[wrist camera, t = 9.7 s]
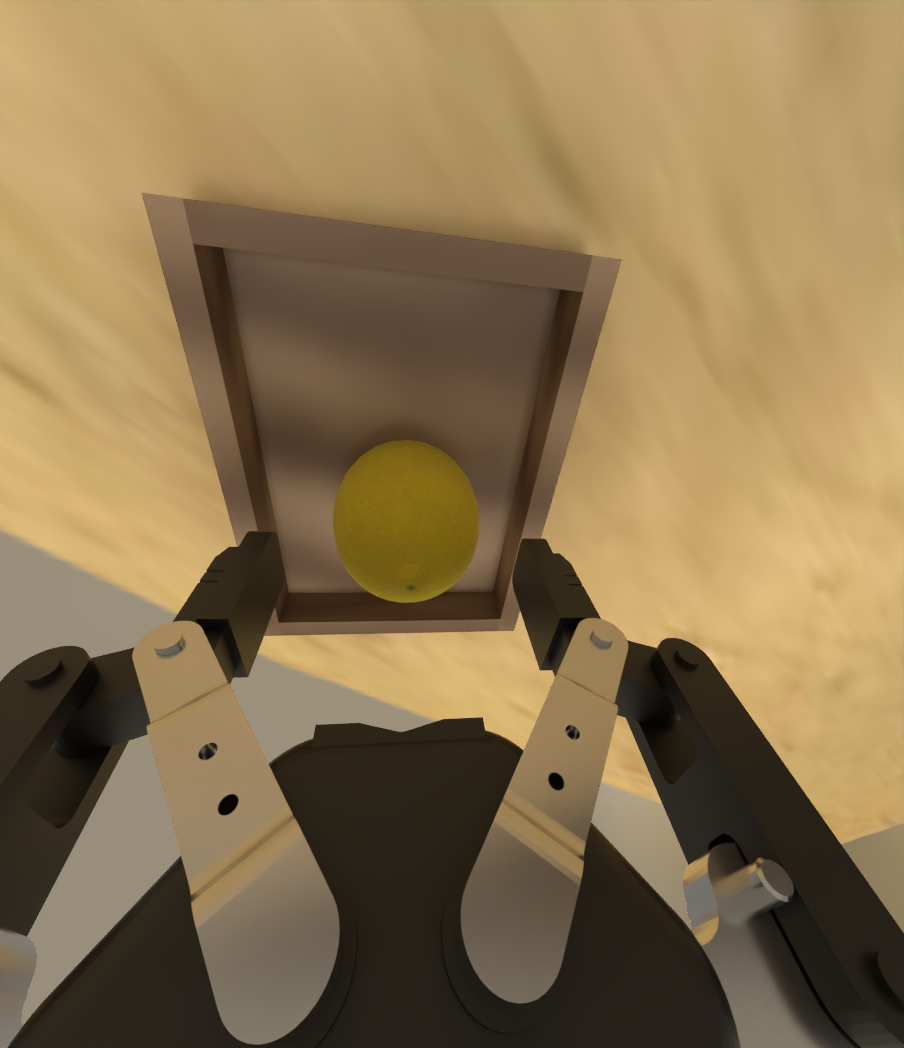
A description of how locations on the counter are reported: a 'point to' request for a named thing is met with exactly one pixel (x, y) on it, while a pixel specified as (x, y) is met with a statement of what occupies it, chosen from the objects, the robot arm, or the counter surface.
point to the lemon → (406, 521)
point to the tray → (378, 386)
